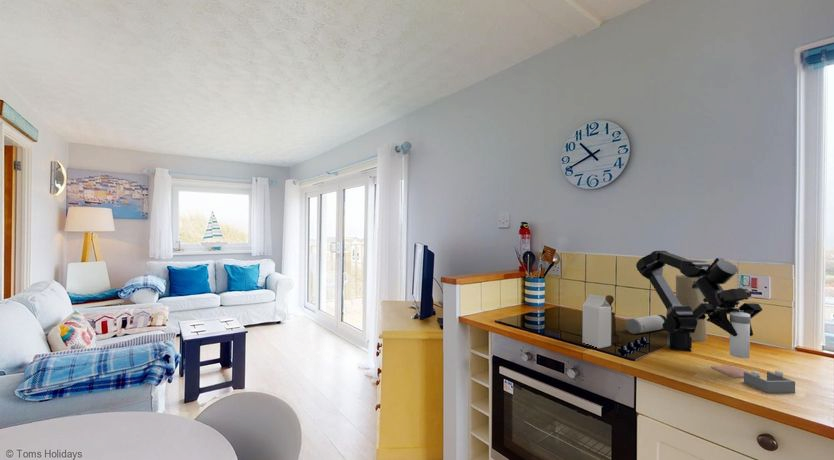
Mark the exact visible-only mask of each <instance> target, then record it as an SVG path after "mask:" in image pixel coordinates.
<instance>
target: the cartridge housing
mask: <svg viewBox="0 0 834 460" xmlns="http://www.w3.org/2000/svg"><path fill="white" fill-rule="evenodd" d="M750 372H751V374H750V373H748V372H744V378H743V383H744V384H747V385H749V386H751V387H754V388H756V389H758V390H760V391H762V392H765V393H767V394H780V393H781V394H785V393H786V394H787V393H789V394H790V393H792V394H793V393H796V381H795V380H792V379H789V378H787V377H784V371H781V370H775V371H774V372H771V371H766V379H764V378H761V376H760V372H759V371H756V370H751V371H750ZM759 376H760V377H759Z"/></svg>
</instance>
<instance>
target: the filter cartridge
mask: <svg viewBox="0 0 834 460" xmlns="http://www.w3.org/2000/svg"><path fill="white" fill-rule="evenodd" d="M751 319H752V318H751V316H750V314H748V313H743V312H730V314H729V321H730V323H731V324H732V326H733V328H734V329H735V331H736V333H737V336H733V335H731V334H729V353H728V354H729V355H730V356H732V357H733V358H739V359H749V358H750V357H751V356H750V352H751V351H750V349H751V347H750V346H751V345H750V343H751V342H750V341H751V336H750V323H751ZM751 324H752V323H751Z"/></svg>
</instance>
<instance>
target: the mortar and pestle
mask: <svg viewBox="0 0 834 460" xmlns="http://www.w3.org/2000/svg"><path fill="white" fill-rule="evenodd" d="M604 297H605V300H606V301H607V302H608V303H609V305H610V306H611V344H618V343H619V342H620V340H619V335H618V334H617V333H616V331H615V330H616V327H615V326H616V320H615V319H616V318H615V317H616V313H615V312H613V306H612V304H613V302H614V300H615V298H614V296H613V295H606V296H604Z"/></svg>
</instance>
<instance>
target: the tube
mask: <svg viewBox="0 0 834 460" xmlns="http://www.w3.org/2000/svg"><path fill="white" fill-rule="evenodd" d="M698 279H699V278H689V277H687V276H685V275H684V274H680V275H675V296H676V297H677V299H678V301H679V302H680V304H681V305H683V306H689V307H691V309H692V311H693V310H694V309H695V308H697V307H698V306H699V305H700V304H701V303H707V302H704V301H703V299H704V298H705V297H704V295H703V294H702V293H701V291H700V290H699V289H693V288H692V285H693V281H697V280H698ZM705 316H706V317H705V319H704V320H697V326H696V329H695V332H694V333H690V337H691V338H692V342H697V343H698V342H699V343H702V342H706V341H707V314H705Z"/></svg>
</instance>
